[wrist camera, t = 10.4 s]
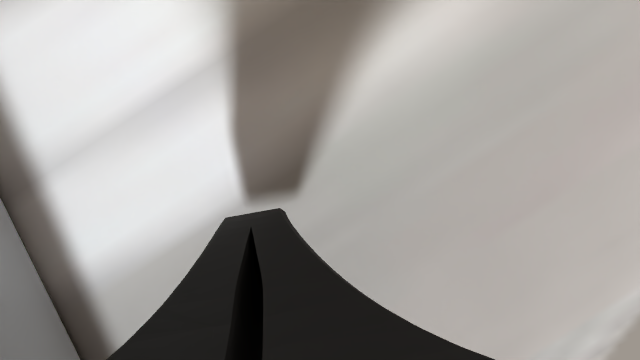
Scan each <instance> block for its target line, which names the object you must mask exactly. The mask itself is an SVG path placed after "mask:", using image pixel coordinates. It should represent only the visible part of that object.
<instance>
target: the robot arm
mask: <svg viewBox="0 0 640 360" xmlns="http://www.w3.org/2000/svg"><path fill="white" fill-rule="evenodd" d="M107 360H495V359H492V358H489V357H487V356H484V355H481V354H479V353H476V352H473V351H471V350H468V349H465V348H463V347H460V346H458V345H456V344H453V343H451V342H449V341H447V340H445V339H443V338H440V337H438V336H436V335H434V334H432V333H430V332H428V331H425V330H423V329H421V328H419V327H417V326H415V325H413V324H412V323H410V322H408V321H406V320H405V319H403V318H401V317H399V316H398V315H396V314H394V313H392V312H391V311H389V310H387V309H385V308H384V307H382V306H381V305H379V304H378V303H376V302H375V301H373V300H372V299H370V298H369V297H367V296H366V295H364V294H363V293H362V292H360V291H359V290H358V289H356V288H355V287H353V286H352V285H351V284H350V283H348V282H347V281H346V280H345V279H343V278H342V277H341V276H340V275H339V274H338V273H336V272H335V271H334V270H333V269H332V268H331V267H330V266H329V265H328V264H327V263H325V262H324V261H323V260H322V259H321V258H320V257H319V256H318V255H317V254H316V253H315V252H314V250H313V249H312V248H311V247H310V246H309V245H308V244H307V243H306V242H305V241H304V239H303V238H302V237H301V236H300V235H299V233H298V232H297V231H296V229H295V228H294V227H293V225H292V224H291V222H290V221H289V219H288V217H287V215H286V213H285V211H283V210H282V209H280V208H278V209H272V210H267V211H261V212H255V213H250V214H244V215H239V216H233V217H227V218H225V219H224V221H223V222H222V223H221V225H220V226H219V228H218V229H217V231H216V232H215V234H214V236H213V237H212V239H211V240H210V242H209V243H208V245H207V246H206V248H205V249H204V251H203V252H202V254H201V255H200V257H199V258H198V259H197V261H196V262H195V264H194V265H193V267H192V268H191V269H190V271H189V272H188V274H187V275H186V276H185V278H184V279H183V280H182V281H181V283H180V284H179V285H178V286H177V288H176V289H175V290H174V291H173V293H172V294H171V295H170V296H169V298H168V299H167V300H166V301H165V302H164V304H163V305H162V306H161V307H160V308H159V309H158V310H157V311H156V312H155V313H154V315H153V316H152V317H151V318H150V319H149V320H148V321H147V322H146V323H145V324H144V325H143V326H142V327H141V328H140V329H139V330H138V331H137V332H136V333H135V334H134V335H133V336H132V337H131V338H130V339H129V340H128V341H127V342H126V343H125V344H124V345H123V346H121V347H120V348H119V349H118V350H117V351H116V352H115V353H113V354H112V355H111V356H110V357H109V358H108V359H107Z"/></svg>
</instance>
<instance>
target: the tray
mask: <svg viewBox="0 0 640 360" xmlns="http://www.w3.org/2000/svg"><path fill="white" fill-rule="evenodd" d="M0 360H80V358H79V356H78V354H77V352H76V350H75V348H74V346H73V344H72V342H71V340H70V338H69V336H68V334H67V332H66V330H65V328H64V326H63V324H62V322H61V320H60V318H59V316H58V314H57V312H56V310H55V308H54V305H53V303H52V301H51V299H50V297H49V295H48V293H47V291H46V289H45V287H44V285H43V283H42V281H41V279H40V277H39V275H38V273H37V271H36V269H35V267H34V265H33V263H32V261H31V259H30V257H29V255H28V253H27V251H26V249H25V247H24V245H23V243H22V241H21V239H20V237H19V235H18V233H17V231H16V229H15V227H14V224H13V222H12V220H11V218H10V216H9V214H8V212H7V210H6V208H5V206H4V204H3V202H2V200H1V198H0Z"/></svg>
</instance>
